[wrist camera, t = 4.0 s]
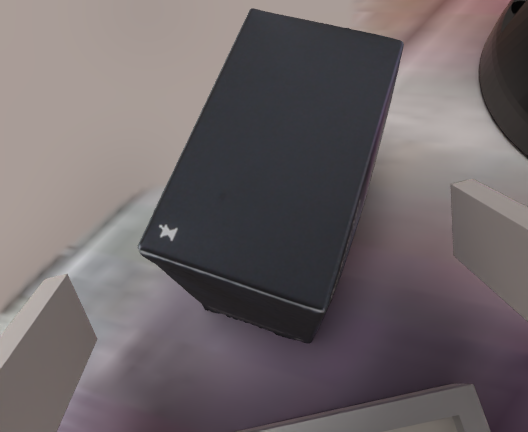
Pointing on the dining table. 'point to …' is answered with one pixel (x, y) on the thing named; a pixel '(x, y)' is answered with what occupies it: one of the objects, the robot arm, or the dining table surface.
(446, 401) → the tray
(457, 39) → the dining table surface
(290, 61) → the small box
